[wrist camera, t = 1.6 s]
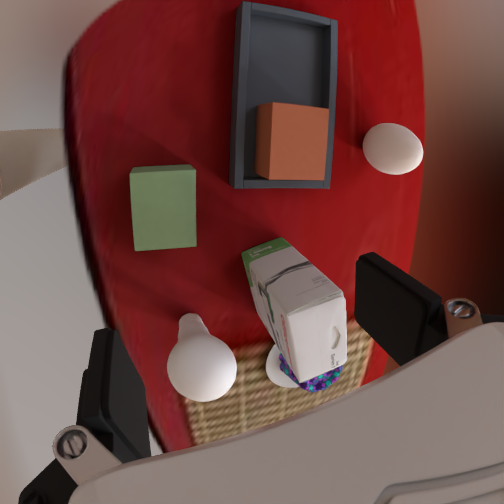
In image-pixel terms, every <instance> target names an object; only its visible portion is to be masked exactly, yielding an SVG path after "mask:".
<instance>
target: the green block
mask: <svg viewBox="0 0 504 504" xmlns="http://www.w3.org/2000/svg"><path fill="white" fill-rule="evenodd" d="M130 195H131V212H132V225H133V237H134V248H135V251H144V250H157V249H170V248H183V247H196V246H197V244H196V170H195V169H194V168H193V167H192V166H191V165H190V164H189V165H165V166H147V167H133V169H132V170H131V172H130Z"/></svg>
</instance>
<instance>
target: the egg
mask: <svg viewBox="0 0 504 504" xmlns="http://www.w3.org/2000/svg"><path fill="white" fill-rule="evenodd" d="M363 152H364V155H365V157H366V159H367V161H368V162H369V163H370V164H371V165H372V166H373V167H375V168H376V169H377V170H379V171H381V172H384V173H388V174H403V173H406V172H410V171H411V170H413V169H415V168H416V167H417V166H418V165H419V164H420V162H421V160H422V157H423V148H422V144H421V142H420V140H419V139H418V138H417V137H416V135H415V134H414V133H413V132H411V131H410V130H409V129H407V128H405V127H403V126H401V125H398V124H393V123H382V124H378V125H376V126H374V127H372V128H371V129H370V130H369V131H368V132H367V134H366V135H365V137H364V140H363Z"/></svg>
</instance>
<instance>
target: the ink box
mask: <svg viewBox="0 0 504 504" xmlns="http://www.w3.org/2000/svg"><path fill="white" fill-rule="evenodd" d="M242 259H243V263H244V267H245V270H246V274H247V277H248V281H249V285H250V289H251V292H252V296H253V300H254V303H255V307H256V310H257V314H258V315H259V317H260V318H261V320H262V322H263V323H264V325H265V327H266V328H267V330H268V332H269V334H270V335H271V337H272V338H273V340H274V342H275V343H276V345H277V347H278V348H279V350H280V352H281V353H282V355H283V356H284V358H285V360H286V361H287V363H288V365H289V366H290V368H291V370H292V371H293V373H294V374H295V376H296V378H297V379H298V381H299V383H302V382H305V381H307V380H310V379H312V378H314V377H317V376H319V375H321V374H323V373H325V372H328V371H330V370H333V369H335V368H337V367H339V366H341V365H343V364H344V363H345V362H346V361H347V342H346V337H347V328H346V300H345V298H344V297H343V292H342V291H341V290H340V289H339V288H338V287H337V286H336V285H335V284H334V283H333V282H332V281H330V280H329V279H328V278H327V277H326V276H325V275H324V274H323V273H322V272H320V271H319V270H318V269H317V268H316V267H315V266H314V265H313V264H312V263H310V262H309V261H308V260H307V259H306V258H305V257H304V256H303V255H301V254H300V253H299V252H298V251H297V250H296V249H295V248H294V247H292V246H291V245H290V244H289V243H288V242H287V241H286V240H285V239H284V238H282V237H280V238H277V239H274V240H272V241H269V242H266V243H263V244H260V245H258V246H255V247H253V248H250V249H248V250H246V251H244V252H242Z"/></svg>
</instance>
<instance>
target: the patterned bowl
mask: <svg viewBox="0 0 504 504" xmlns="http://www.w3.org/2000/svg"><path fill="white" fill-rule="evenodd" d="M346 342H347V337H346ZM341 371H342V365H341V366H339V367H337V368H335V369H333V370H330V371H328V372H325V373H323V374H321V375H319V376H317V377H314V378H312V379H310V380H307V381H305V382H302V383H299V381H298V379H297V378H296V376H295V374H294V373H293V371H292V370H291V368H290V366H289V365H288V363H287V361H286V360H285V358H284V356H283V355H282V353H281V352H280V350H279V348H278V347H277V345H276V343H275V345H274V346H273V348H272V349H271V351H270V353H269V355H268V357H267V361H266V372H267V375H268V377H269V379H270V380H271V381H272V382H273V383H275V384H276V385H279V386H282V387H288V388H292V387H301V388H302V389H304V390H307V391H309V392H317V391H318V390H324V389H326V388H328V387H329V386H330V384H332V383H334V382H335V381H336V380H337V379H338V377H339V374H340V373H341Z"/></svg>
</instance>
